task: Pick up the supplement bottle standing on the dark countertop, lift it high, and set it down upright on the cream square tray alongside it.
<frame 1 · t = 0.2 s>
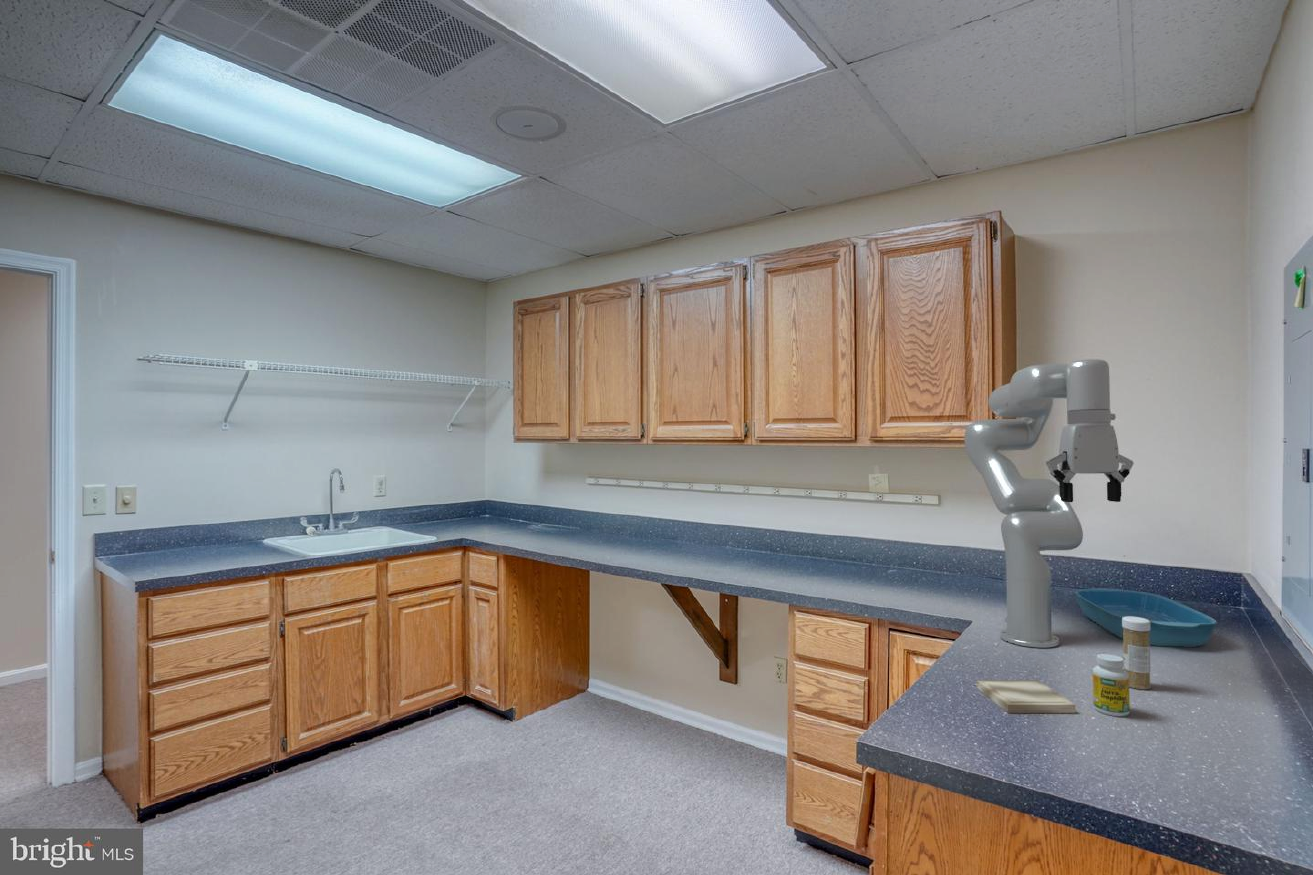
hand: (1090, 501, 135), 36 cm above the worktop, tool pointing down, fingers open, 9 cm apart
sprinkles bottle: (1137, 687, 130), on the worktop
supplement bottle: (1111, 712, 118), on the worktop
cream square tray: (1023, 699, 123), on the worktop
casserole dish: (1139, 631, 168), on the worktop
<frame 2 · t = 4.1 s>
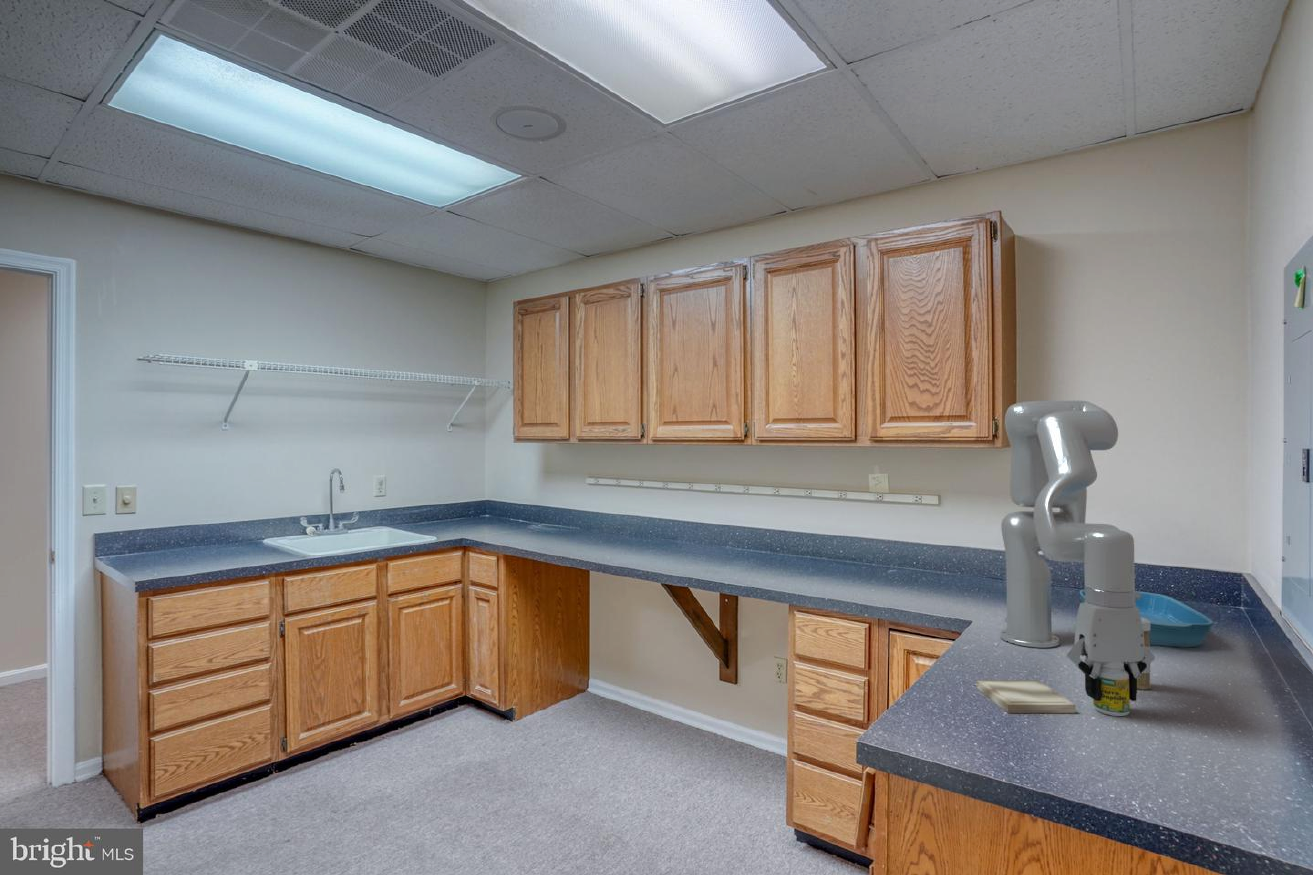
hand: (1111, 696, 118), 3 cm above the worktop, tool pointing down, fingers closed on supplement bottle, 5 cm apart
supplement bottle: (1111, 711, 118), on the worktop, touching gripper
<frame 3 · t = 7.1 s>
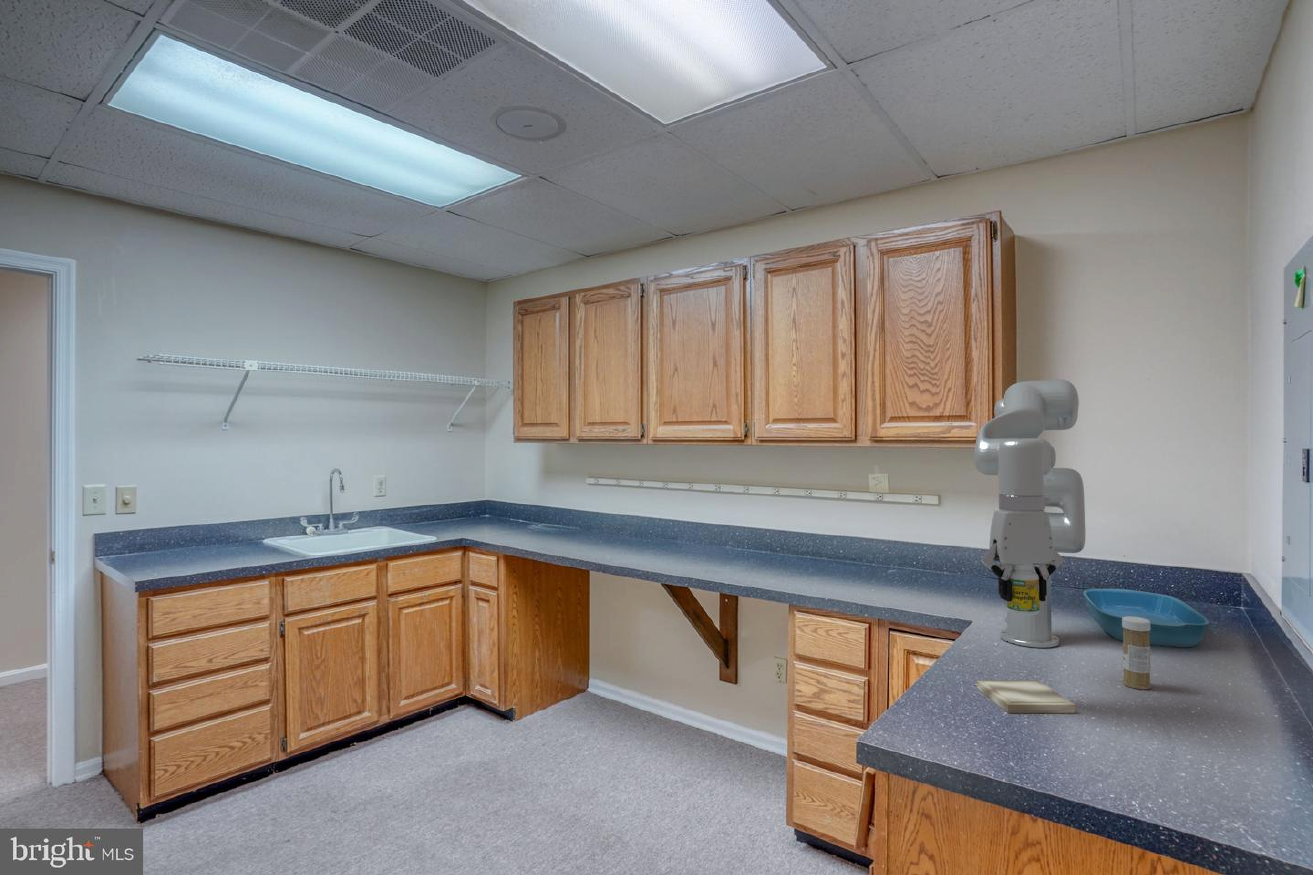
hand: (1022, 598, 123), 19 cm above the worktop, tool pointing down, fingers closed on supplement bottle, 5 cm apart
supplement bottle: (1022, 613, 123), point 16 cm above the worktop, touching gripper
when the fingers open (5 cm above the worktop, at t = 10.5 s): supplement bottle stays where it is, resting on cream square tray.
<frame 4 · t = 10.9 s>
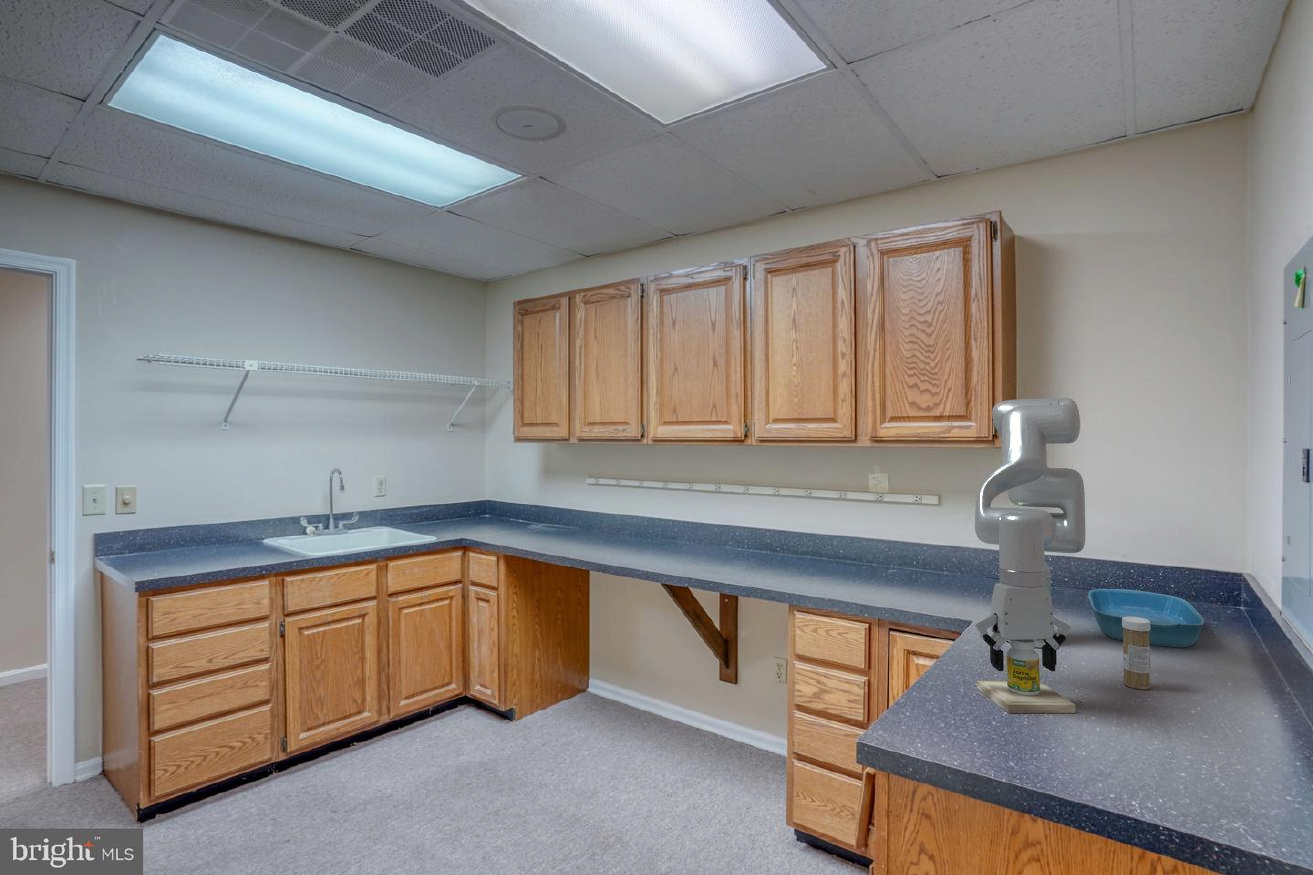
hand: (1023, 668, 123), 6 cm above the worktop, tool pointing down, fingers open, 9 cm apart
supplement bottle: (1023, 691, 123), point 1 cm above the worktop, touching cream square tray
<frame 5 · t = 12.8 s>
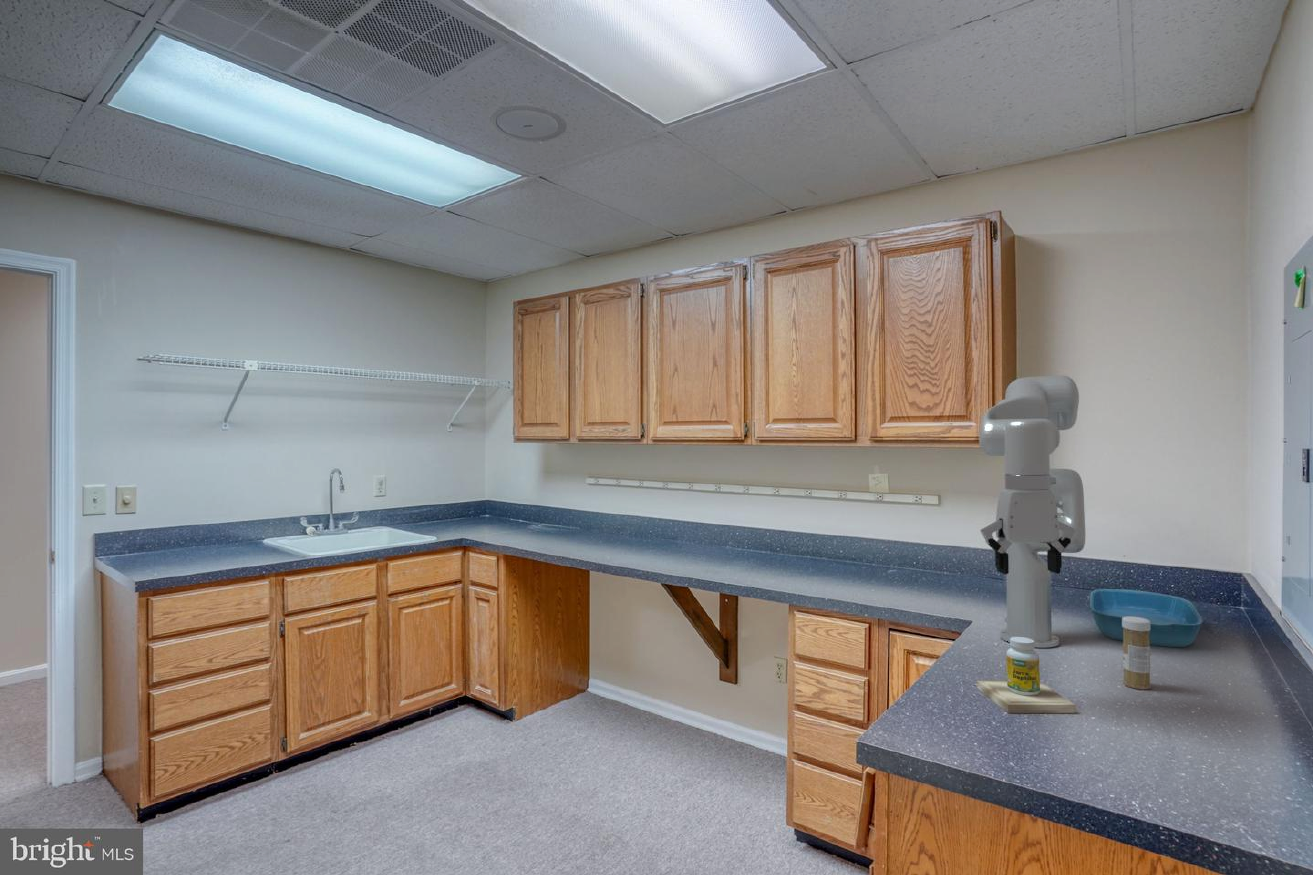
hand: (1028, 572, 125), 24 cm above the worktop, tool pointing down, fingers open, 9 cm apart
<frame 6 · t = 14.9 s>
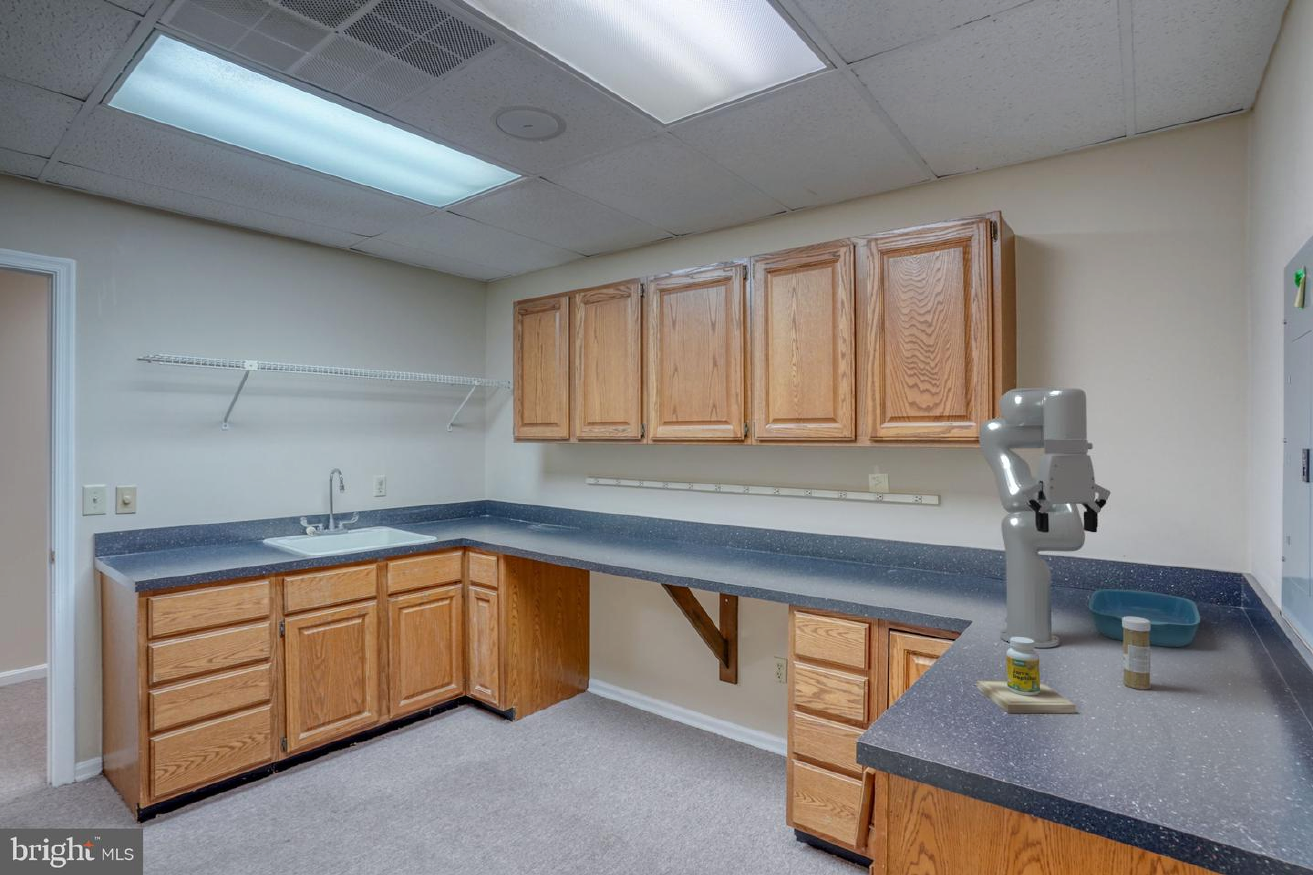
hand: (1066, 531, 134), 30 cm above the worktop, tool pointing down, fingers open, 9 cm apart
at the end: supplement bottle inside the target area on the cream square tray (0.1 cm from its centre), point 1.4 cm above the cream square tray's base; supplement bottle tilted 0°; the gripper is holding nothing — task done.
